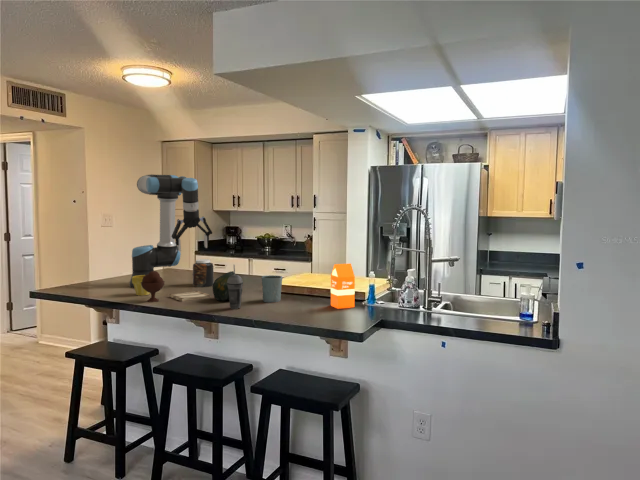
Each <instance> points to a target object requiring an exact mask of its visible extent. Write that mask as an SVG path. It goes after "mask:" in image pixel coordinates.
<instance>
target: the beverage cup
mask: <svg viewBox="0 0 640 480" xmlns="http://www.w3.org/2000/svg"><path fill="white" fill-rule="evenodd" d="M235 267H236V265H235V264H233V272H234V275H231V276H230V277H229V278H228V281H227V286H228V291H229V301H228V302H229V309H230V308H231V310H239V309H238V308H240V309H241V305H242V295H243V284H244V280H243V278H242V277H241V276H240V275H239V274H236V268H235ZM241 294H242V295H241Z"/></svg>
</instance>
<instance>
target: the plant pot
mask: <svg viewBox="0 0 640 480" xmlns="http://www.w3.org/2000/svg"><path fill="white" fill-rule="evenodd" d="M144 276H145V275H139V276H133V277H132V283H133V284H134V291H135V294H136V296H137V295H138V296H142V297H143V296H149V295H151V293H149V292H147V291H146V290H145V289H144V288H143V287H142V285H141V282H142V279H143V277H144ZM138 296H137V297H138Z"/></svg>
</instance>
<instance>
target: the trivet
mask: <svg viewBox="0 0 640 480" xmlns="http://www.w3.org/2000/svg"><path fill="white" fill-rule="evenodd" d="M169 298H172V299H174V300H178V301H179V302H188V301H195V300H204V299H210V298H211V295H210V294H209V293H204V292H202V291H199V290H195V291H190V292H188V291H187V292H182V293H170V294H169Z"/></svg>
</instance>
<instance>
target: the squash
mask: <svg viewBox="0 0 640 480" xmlns="http://www.w3.org/2000/svg"><path fill="white" fill-rule="evenodd" d="M231 275H234V270H233V271H228V272H225V273H223V274H222V275H221V276H218V277H217V278H216V279H214V284H213V286H212V294H213V297H214V298H215V299H216V300H217V301H219V302H221V301H223V302H225V301H227V300H229V291H228V286H227V281H228V278H229V277H230V276H231ZM242 295H243V293H242V294H241V296H242Z"/></svg>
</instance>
